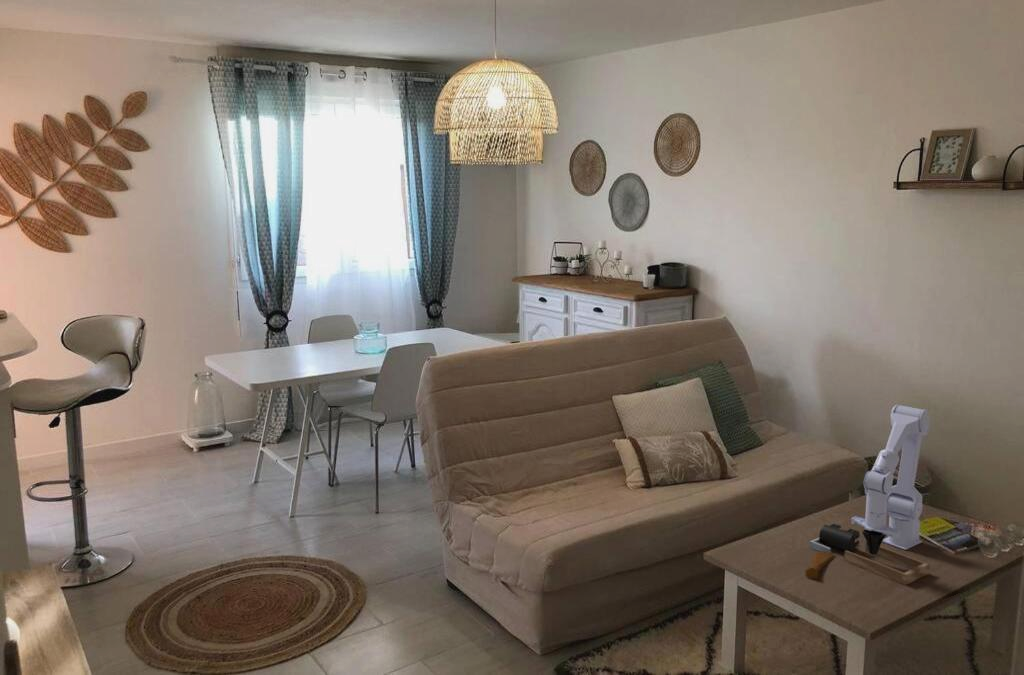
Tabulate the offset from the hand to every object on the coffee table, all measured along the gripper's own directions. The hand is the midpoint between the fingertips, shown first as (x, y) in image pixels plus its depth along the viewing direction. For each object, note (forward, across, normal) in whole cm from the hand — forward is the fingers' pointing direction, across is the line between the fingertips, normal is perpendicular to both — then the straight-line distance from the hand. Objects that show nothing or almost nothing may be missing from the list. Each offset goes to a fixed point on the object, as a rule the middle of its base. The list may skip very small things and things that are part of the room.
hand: (873, 553), depth 249 cm
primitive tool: (+3, -8, -15) cm, 18 cm away
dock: (+3, -14, 0) cm, 14 cm away
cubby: (+3, +3, 0) cm, 4 cm away
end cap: (+3, -11, 0) cm, 12 cm away
